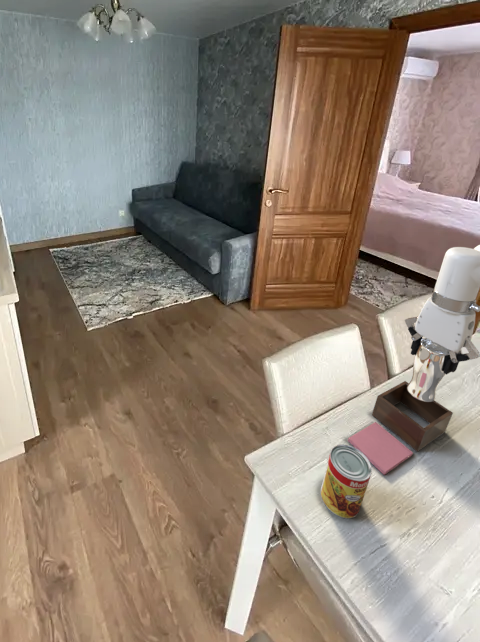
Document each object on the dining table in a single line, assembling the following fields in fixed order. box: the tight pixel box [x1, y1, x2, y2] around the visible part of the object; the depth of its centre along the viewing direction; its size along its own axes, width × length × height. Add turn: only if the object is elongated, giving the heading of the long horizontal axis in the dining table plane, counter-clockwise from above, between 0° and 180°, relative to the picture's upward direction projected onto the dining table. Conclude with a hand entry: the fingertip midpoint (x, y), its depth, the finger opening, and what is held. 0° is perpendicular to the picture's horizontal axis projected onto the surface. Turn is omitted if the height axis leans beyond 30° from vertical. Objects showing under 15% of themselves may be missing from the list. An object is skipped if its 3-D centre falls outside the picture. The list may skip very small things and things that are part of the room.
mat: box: [347, 421, 414, 476], centre depth 87 cm, size 11×10×1 cm
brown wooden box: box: [371, 380, 454, 452], centre depth 93 cm, size 12×12×7 cm
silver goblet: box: [407, 337, 451, 402], centre depth 87 cm, size 7×7×15 cm
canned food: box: [320, 443, 373, 519], centre depth 73 cm, size 8×8×12 cm
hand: (431, 361), depth 86 cm, fingers closed on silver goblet, 7 cm apart
